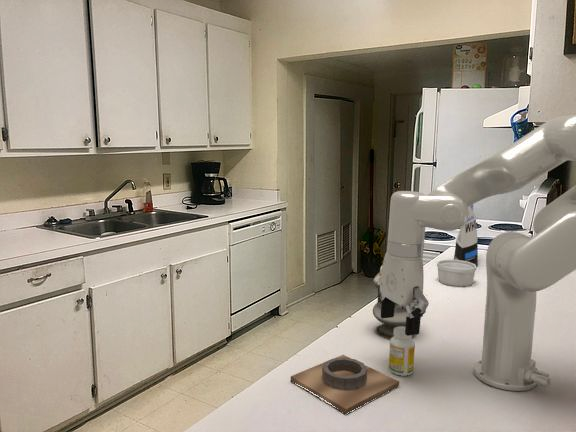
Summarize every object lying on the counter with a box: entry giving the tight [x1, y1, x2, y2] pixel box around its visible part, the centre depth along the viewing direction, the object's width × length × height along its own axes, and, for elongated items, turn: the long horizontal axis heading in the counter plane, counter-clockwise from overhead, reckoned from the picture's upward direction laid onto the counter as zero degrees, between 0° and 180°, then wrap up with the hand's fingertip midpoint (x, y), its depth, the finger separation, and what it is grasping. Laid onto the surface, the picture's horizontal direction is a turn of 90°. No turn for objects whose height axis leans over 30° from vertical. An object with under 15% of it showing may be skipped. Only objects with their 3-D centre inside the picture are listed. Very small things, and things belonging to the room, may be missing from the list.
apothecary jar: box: [372, 264, 415, 340], centre depth 124 cm, size 12×12×18 cm
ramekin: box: [436, 259, 477, 288], centre depth 169 cm, size 13×13×7 cm
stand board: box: [290, 354, 400, 415], centre depth 99 cm, size 16×16×4 cm
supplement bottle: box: [388, 326, 416, 377], centre depth 104 cm, size 5×5×10 cm
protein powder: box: [453, 204, 479, 268], centre depth 192 cm, size 10×24×30 cm, turn 152°
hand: (399, 325), depth 103 cm, fingers open, 9 cm apart
